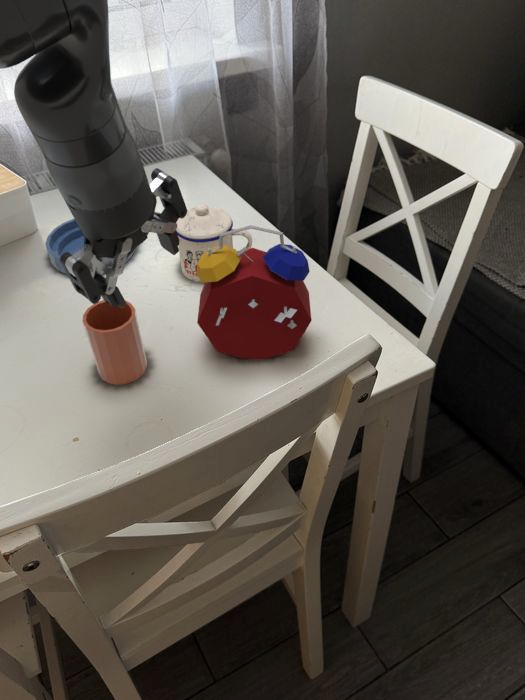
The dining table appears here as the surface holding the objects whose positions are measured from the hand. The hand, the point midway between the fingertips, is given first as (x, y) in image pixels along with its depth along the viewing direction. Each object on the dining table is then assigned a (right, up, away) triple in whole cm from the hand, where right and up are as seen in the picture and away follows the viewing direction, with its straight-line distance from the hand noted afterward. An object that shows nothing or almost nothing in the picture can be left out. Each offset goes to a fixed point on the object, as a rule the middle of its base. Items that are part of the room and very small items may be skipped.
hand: (144, 275), depth 66 cm
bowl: (-16, +8, +36) cm, 40 cm away
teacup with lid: (+6, +5, +32) cm, 33 cm away
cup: (-6, -11, +15) cm, 20 cm away
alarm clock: (+12, -9, +17) cm, 23 cm away
